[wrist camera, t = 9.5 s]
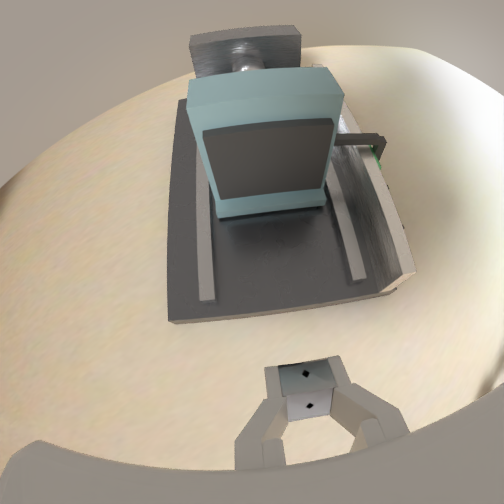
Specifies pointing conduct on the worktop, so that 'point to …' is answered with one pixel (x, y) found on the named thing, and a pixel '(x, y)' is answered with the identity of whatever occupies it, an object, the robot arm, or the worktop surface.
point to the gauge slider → (269, 136)
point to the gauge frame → (276, 215)
